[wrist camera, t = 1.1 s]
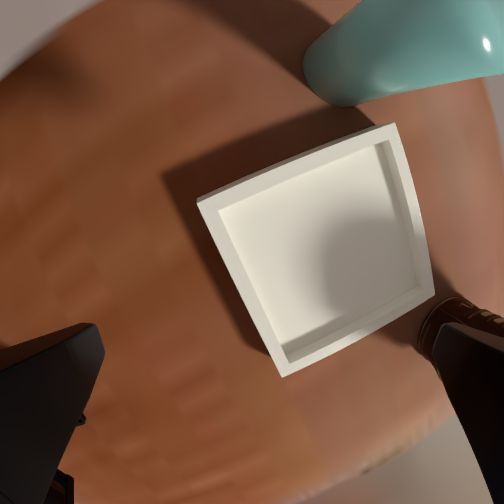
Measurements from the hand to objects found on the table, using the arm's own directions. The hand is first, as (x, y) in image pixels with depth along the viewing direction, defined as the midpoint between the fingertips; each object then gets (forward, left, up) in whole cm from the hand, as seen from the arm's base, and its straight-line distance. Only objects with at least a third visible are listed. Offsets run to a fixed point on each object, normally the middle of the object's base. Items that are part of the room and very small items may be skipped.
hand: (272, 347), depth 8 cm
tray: (+5, -3, -12) cm, 13 cm away
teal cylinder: (+10, +7, -12) cm, 17 cm away
